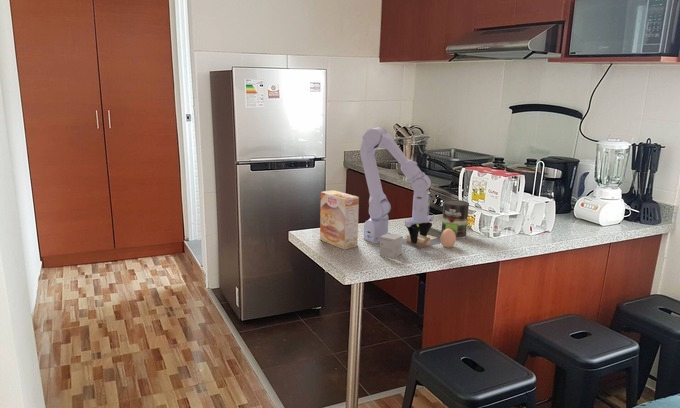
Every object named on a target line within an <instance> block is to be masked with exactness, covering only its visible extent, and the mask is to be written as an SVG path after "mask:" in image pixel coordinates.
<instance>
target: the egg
mask: <svg viewBox="0 0 680 408" xmlns="http://www.w3.org/2000/svg"><path fill="white" fill-rule="evenodd" d="M439 238H440V240H441V243H440V244H441V245H442V246H443V247H444V248H452V247H454V245H455V244H456V241H457V238H456V236H455V233H454V231H453V230H452V229H449V228H448V229H445V230H444V231H443V232H442V234H441V233H440V237H439Z"/></svg>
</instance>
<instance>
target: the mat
mask: <svg viewBox="0 0 680 408" xmlns="http://www.w3.org/2000/svg"><path fill="white" fill-rule="evenodd" d="M426 237H429V238H430V246H426V247H423V248H422V247H419V246H416V245H413V244H409V243H406V241H407V238H404V239H403V240H402V245H405V246H409V247H411V248H414V249H417V250H422V249H425V248H428V247H433V246H436V245H438V244H441V240H440V238H441V237H439V236H435V235H432V234H429V233H428V234H427V236H426Z"/></svg>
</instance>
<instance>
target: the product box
mask: <svg viewBox="0 0 680 408" xmlns="http://www.w3.org/2000/svg"><path fill="white" fill-rule="evenodd" d="M403 237H404V236H403V235H399V234H395V233H391V232H388V233H387V234H385V235H383V236H381V239H380V242H379V243H380V244H379V256H380V257H384V258H390V259H393V260H394V258H396V257H398V256H400V255H402V251H403V244H402V240H403Z"/></svg>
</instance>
